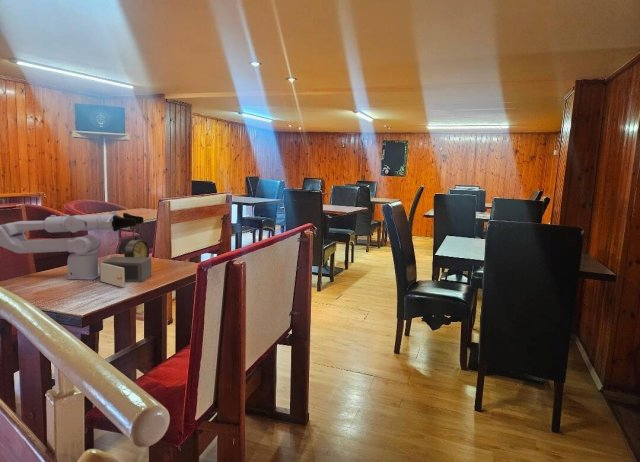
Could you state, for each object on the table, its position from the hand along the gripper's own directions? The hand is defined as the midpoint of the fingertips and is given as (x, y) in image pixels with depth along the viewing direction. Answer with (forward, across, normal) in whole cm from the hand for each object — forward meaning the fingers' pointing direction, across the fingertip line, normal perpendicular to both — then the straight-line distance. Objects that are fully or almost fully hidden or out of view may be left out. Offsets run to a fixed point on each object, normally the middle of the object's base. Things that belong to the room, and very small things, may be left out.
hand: (139, 221), depth 155 cm
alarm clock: (-9, +16, +21) cm, 28 cm away
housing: (-6, 0, +21) cm, 22 cm away
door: (-8, -10, +21) cm, 24 cm away
